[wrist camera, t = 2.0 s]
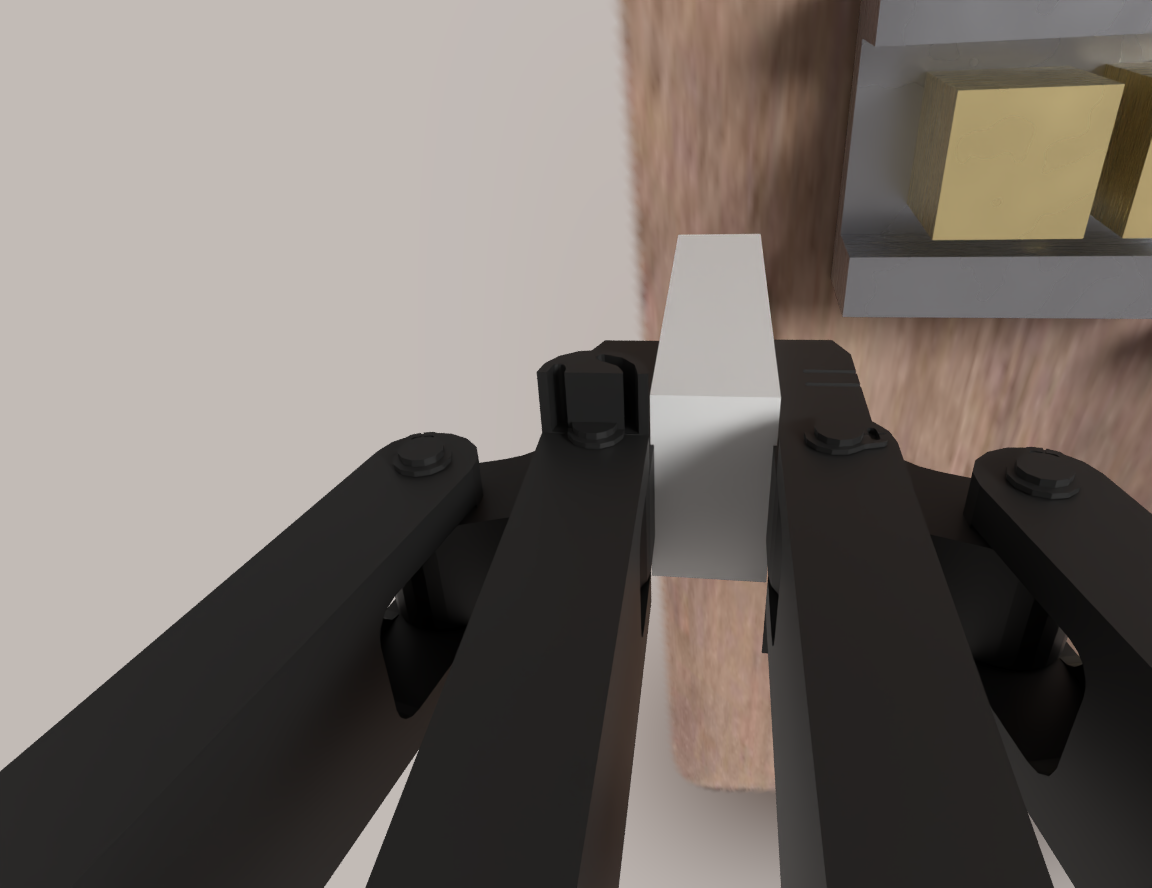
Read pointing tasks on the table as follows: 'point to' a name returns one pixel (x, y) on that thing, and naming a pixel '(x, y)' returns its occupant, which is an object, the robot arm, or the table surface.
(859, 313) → the slot rail
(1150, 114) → the khaki cube block
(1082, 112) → the tan cube block
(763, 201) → the table surface
